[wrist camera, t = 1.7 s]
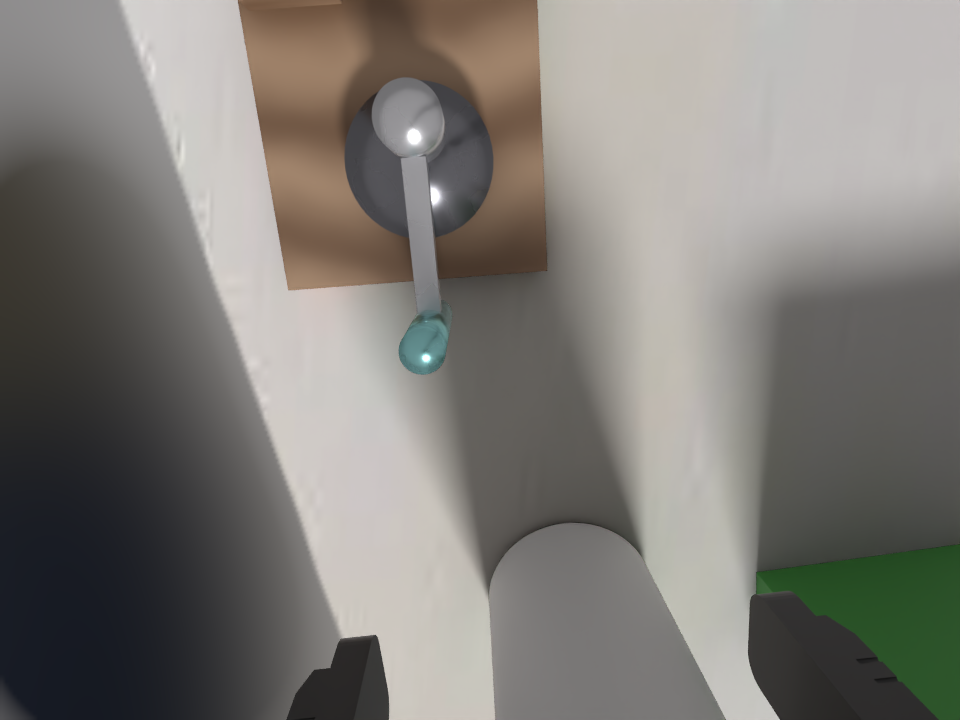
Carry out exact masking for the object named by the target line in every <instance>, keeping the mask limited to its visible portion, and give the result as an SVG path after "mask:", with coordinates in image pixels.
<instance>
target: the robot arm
mask: <svg viewBox="0 0 960 720" xmlns="http://www.w3.org/2000/svg"><path fill="white" fill-rule="evenodd" d="M748 657H749V663H750V667H751V670H752V673H753V675H754V678H755V680H756V682H757V684H758V686H759V688H760V689H761V691H762V692H763V694H764V696H765V697H766V699H767V700H768V702H769V703H770V705H771V706H772V708H773V709H774V711H775V713H776V714H777V716H778V717H779V719H780V720H939V719H938V718H937V717H936V716H935V715H934V714H933V713H932V712H931V711H930V710H929V709H928V708H927V707H926V706H925V705H924V704H923V703H922V702H921V701H920V700H919V699H918V698H917V697H916V696H915V695H914V694H913V693H912V692H911V691H910V690H909V689H908V688H907V687H906V685H905V684H904V683H903V682H899V681H898V679H897V676H896V675H895V674H894V673H893V672H892V671H891V670H890V669H889V668H888V667H887V666H886V665H885V664H884V663H883V662H880V661H879V660H878V657H877V656H876V655H875V654H874V653H873V652H872V651H871V650H870V648H869V647H868V646H867V645H866V644H865V643H864V642H863V641H862V640H861V639H860V638H859V637H858V636H857V635H856V634H855V633H853V632H852V631H850V630H849V629H847V628H845V627H844V626H842V625H841V624H839V623H838V622H836V621H834V620H833V619H831V618H830V617H828V616H827V615H821V616H816V615H815V614H814V613H813V612H812V611H811V610H810V609H809V608H808V607H807V606H806V605H805V603H804V602H803V601H802V600H801V599H800V598H799V597H798V596H797V595H796V594H795V593H793V592H791V591H783V592H774V593H765V594H755V595H753V596H752V597H751V600H750V615H749V640H748ZM287 720H389V696H388V688H387V683H386V678H385V672H384V667H383V662H382V656H381V651H380V645H379V641H378V638H377V636H376V635H370V636H361V637H352V638H343V639H340V641H339V643H338V645H337V649H336V652H335V655H334V658H333V661H332V664H331V668H327V669H319V670H314V671H313V672H312V673H311V675H310V676H309V677H308V679H307V680H306V681H305V683H304V684H303V685H302V687H301V688H300V689H299V690H298V692H297V693H296V695H295V697H294V700H293V703H292V706H291V708H290V711H289V714H288V717H287Z"/></svg>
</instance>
